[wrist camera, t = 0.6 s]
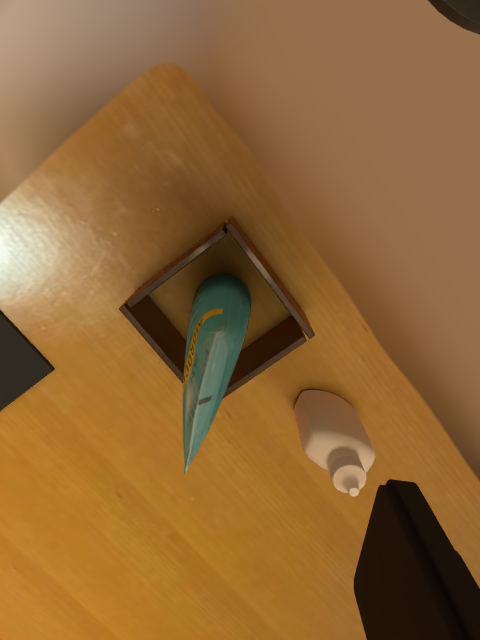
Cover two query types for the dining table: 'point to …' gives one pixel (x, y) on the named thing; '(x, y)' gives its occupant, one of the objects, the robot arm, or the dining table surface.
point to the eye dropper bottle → (334, 438)
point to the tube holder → (174, 345)
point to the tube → (211, 353)
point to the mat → (18, 363)
